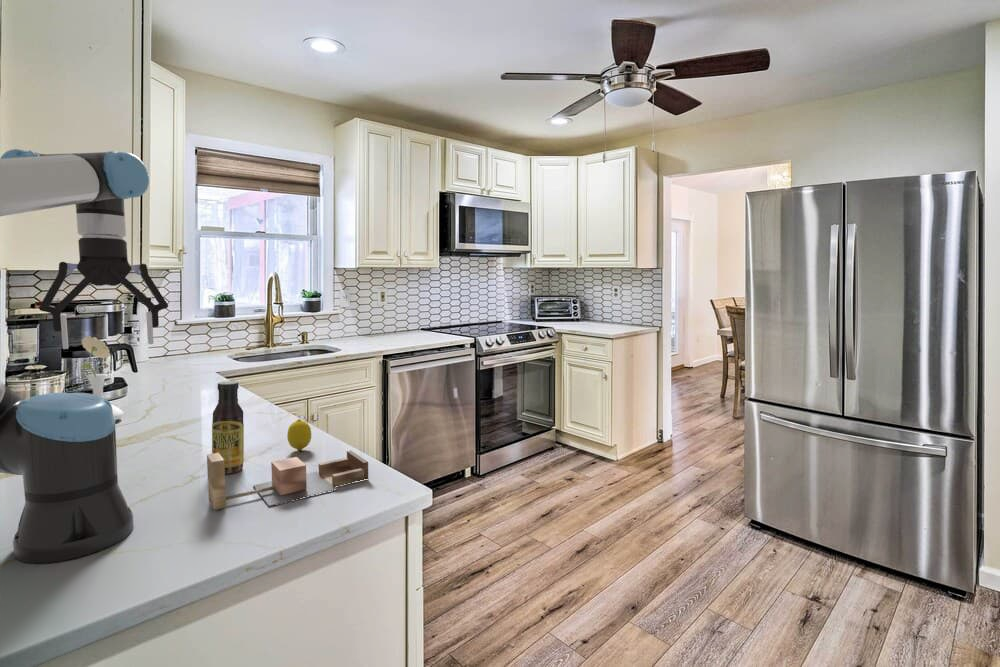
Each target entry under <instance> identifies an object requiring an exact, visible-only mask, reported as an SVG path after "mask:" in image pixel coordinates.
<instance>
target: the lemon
mask: <svg viewBox="0 0 1000 667" xmlns="http://www.w3.org/2000/svg"><path fill="white" fill-rule="evenodd" d="M286 434H287V438H286V439H287V442H288V444H289V446H290V447H292V448H293V449H296V450H297V451H299V452H301V451H302V450H303V449H305V448H306V447H308V445H309V444H310V443H311V439H312V429H311V426H310V425H309V423H308V422H306V420H302V419H300V418H299V419H296V420H295V421H293V422H292V423H291V424H290V425H289V427H288V430H287V433H286ZM300 450H301V451H300Z"/></svg>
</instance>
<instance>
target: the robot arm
mask: <svg viewBox="0 0 1000 667" xmlns="http://www.w3.org/2000/svg"><path fill="white" fill-rule="evenodd" d="M149 184H150V177H149V172H148V169H147V167H146V165H145V163H144V162H143V161H142V159H140V157H138V156H136V155H134V154H133V153H130V152H126V151H125V152H124V151H117V150H113V151H103V152H102V151H100V152H81V153H79V152H77V153H38V152H35V151H34V150H24V149H17V148H13V149H9V150H6V151H5V152H4V153H2V155H1V156H0V217H4V216H10V215H11V216H12V215H18V214H24V213H29V212H34V211H42V210H47V209H48V210H49V209H53V208H54V209H55V208H60V207H66V206H71V205H75V209H76V210H75V212H76V228H77V234H78V235H79V236H81V237H80V238H79V239H78V240H77V241H78V256H79V261H78V263H73V262H72V263H71V262H65V261H61V262H59V264H58V273H57V275H56V276H55V279H54V280H53V282H52V284H51V286H50V287H49V289H48V291H47V293H45V296H44V298H43V299H42V301H41V303H40V305H39V306H38V310H39V311H41V312H44V313H49V314H50V315H52V326H53V327H52V328H53V331H54V332H61V344H62V349H63V350H69V339H68V338H69V337H68V326H67V325H68V324H67V313H62V311H63V310H64V309H65V308H66V307H68V305H69V304H70V303H72V301H73V300H75V299H76V297H77V296H78V295H79V294H81V292H83V290H85V288H87V286H89V285H90V284H91V285H93V286H96V287H97V286H98V287H100V286H111V287H112V286H113V287H116V286H118V285H122V286H123V287H124V288H126V289H127V290H128V291H129V292H130V293H131V294H132V295H134V296H135V297H136V298H137V299H138V300H139V301H140V302H141V303H142V304H144V306H146V308H148V310H150V311H146V312H145V314H146V316H145V317H146V334H147V344H148V345H154V331H153V330H154V329H153V328H158V327H159V325H160V324H159V323H160V322H159V321H160V320H159V313H160V311H162V310H165V309H168V307H169V304H168V302H167V301H166V299H165V298H164V296H163V295H162V293H161V292H160V290H159V288H158V287H157V285H156V284H155V282H154V280H153V279H152V278H151V276H150V275H149V270H148V266H147V264H145V263H139V264H130V263H129V261H128V248H127V247H128V243H127V241H126V240H125V239H124V238H125V237H126V236H127V227H126V217H125V200H128V199H132V198H133V199H134V198H138V197H141V196H143V195H144V194H145V193H146V192H147V190H148V188H149ZM75 270H77V271H78V272H79V273H80V274H81V275H82V276H83V277H84V278H82V280H80V282H79V283H77V285H76V286H75V287H74V288H72V290H70V291H69V293H67V295H66V296H65V297H64V298H62V299H61V300H60V301H59V302H58V303H57V304H56V305H55V306H54V305H51V304H52V302H53V301H54V299H55V297H56V295H57V294H58V292H59V290H60V288H61V286H62V285H63V283H64V281H65V280H66V277H67V275H71V274H73V271H75ZM131 271H134V272H135V274H136V275H137V276H140V277H141V279H142V280H143V282H144V283H145V285H146V287H147V288H148V290H149V291H150V293H151V294H152V296H153V298H154V299H155V300H156V302H157V304H154V303H153V302H152V300H150V299H149V298H148V297H147V296H146V295H145V294H144V293H142V291H141V290H140V289H138V288H137V287H136V286H135V285H134V284H132V282H131V281H130V280H128V278H126V277H127V276H128V275H129V274H130V272H131ZM103 397H104V396H103ZM103 397H101V396H98V395H93V393H88V392H87V393H86V392H64V391H63V392H52V393H51V392H50V393H44V394H38V395H35V396H34V395H33V396H31V397H28V398H26V399H24V398H22V397H21V396H20V395H18V394H17V393H16V392H14V390H12V389H11V388H9V387H8V385H6V384H4V383H3V382H2V381H0V474H7V475H8V474H10V475H18V476H22V478H23V479H22V480H23V490H24V491H23V492H24V505H23V506H24V507H23V509H22V512H21V515H20V518H19V519H20V520H19V522H18V526H17V530H16V533H15V534H14V536H13V541H12V547H13V556H14V558H15V559H16V560H18V561H20V562H24V563H28V564H29V563H31V564H46V563H55V562H62V561H68V560H72V559H76V558H77V559H78V558H81V557H84V556H88V555H91V554H94V553H97V552H99V551H102V550H104V549H106V548H109V547H111V546H113V545H115V544H117V543H119V542H120V541H122V540H124V539H125V538H127V536H128V535H130V534H131V532H132V531H133V530H134V515H133V514H134V513H133V511H132V510H131V508H130V507H129V506H128V503H127V501H126V499H125V497H124V495H123V492H122V490H121V488H120V485H119V479H118V460H117V459H118V458H117V439H116V437H117V436H116V420H115V419H114V417H113V410H112V406H111V404H112V403H111V402H110V401H109V400H108V399H107V398H105V397H104V398H103Z"/></svg>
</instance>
